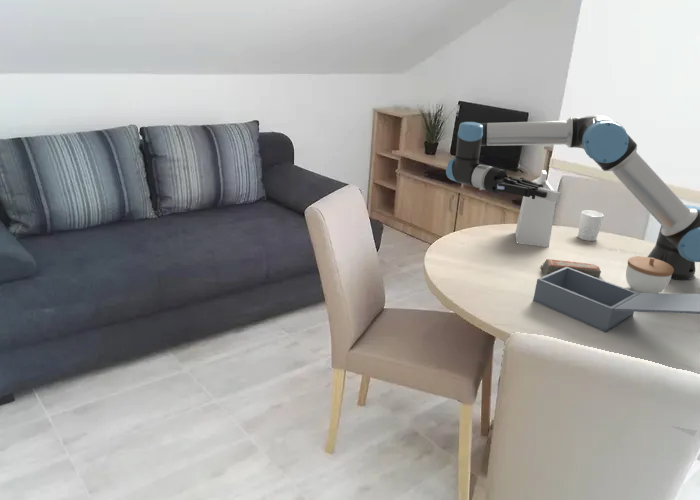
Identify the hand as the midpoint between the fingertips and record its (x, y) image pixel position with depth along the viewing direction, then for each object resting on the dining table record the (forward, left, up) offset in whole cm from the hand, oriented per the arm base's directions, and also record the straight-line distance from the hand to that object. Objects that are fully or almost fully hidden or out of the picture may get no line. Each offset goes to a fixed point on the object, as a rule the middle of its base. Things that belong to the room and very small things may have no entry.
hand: (558, 197), depth 161 cm
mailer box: (-11, +9, -29) cm, 32 cm away
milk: (-4, -46, -30) cm, 55 cm away
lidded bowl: (-33, -9, -30) cm, 45 cm away
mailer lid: (-27, +22, -18) cm, 40 cm away
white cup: (-26, -55, -30) cm, 68 cm away
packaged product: (-12, -15, -30) cm, 36 cm away
